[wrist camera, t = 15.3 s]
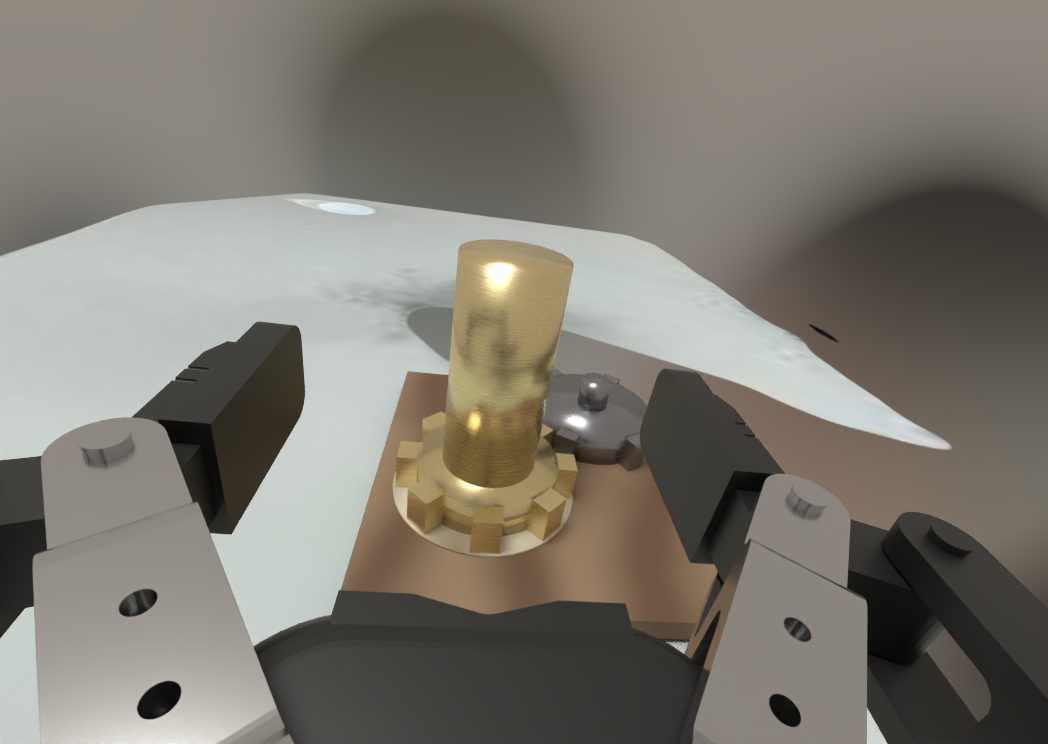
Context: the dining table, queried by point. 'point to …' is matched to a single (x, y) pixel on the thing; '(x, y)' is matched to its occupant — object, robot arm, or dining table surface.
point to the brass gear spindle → (495, 403)
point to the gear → (595, 419)
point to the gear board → (533, 543)
